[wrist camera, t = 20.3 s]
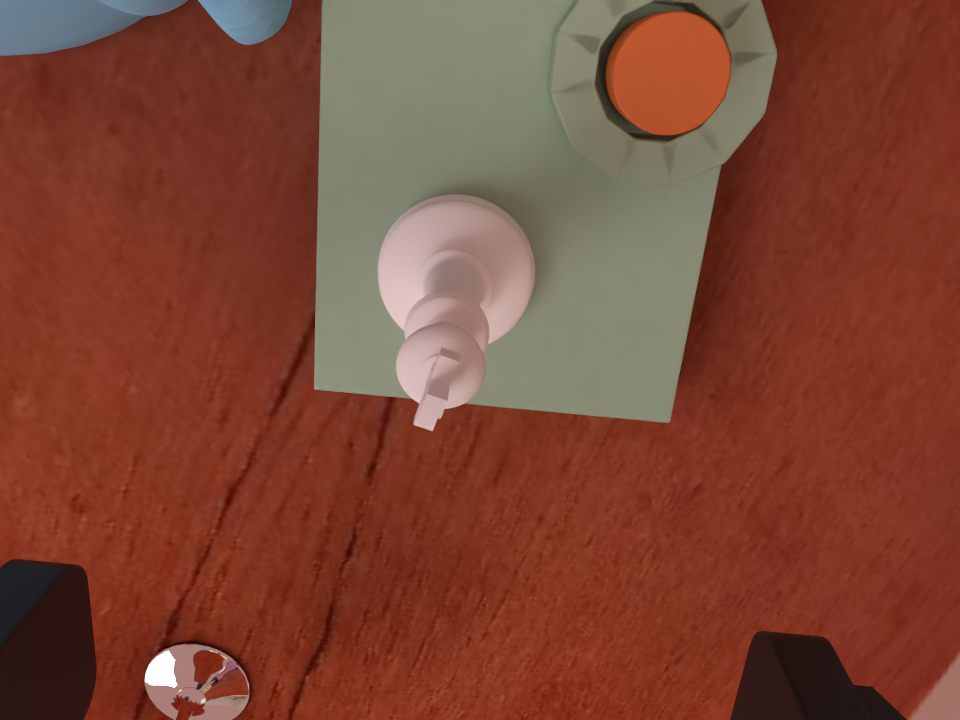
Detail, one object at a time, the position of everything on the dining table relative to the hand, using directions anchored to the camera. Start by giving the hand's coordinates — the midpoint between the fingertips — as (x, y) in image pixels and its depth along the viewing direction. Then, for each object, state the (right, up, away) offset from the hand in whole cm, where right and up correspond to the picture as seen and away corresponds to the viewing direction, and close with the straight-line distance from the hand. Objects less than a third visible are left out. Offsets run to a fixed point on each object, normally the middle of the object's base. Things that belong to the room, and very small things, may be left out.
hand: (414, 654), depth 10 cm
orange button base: (+2, +9, +17) cm, 19 cm away
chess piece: (0, +6, +16) cm, 17 cm away
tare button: (+6, +11, +12) cm, 18 cm away
